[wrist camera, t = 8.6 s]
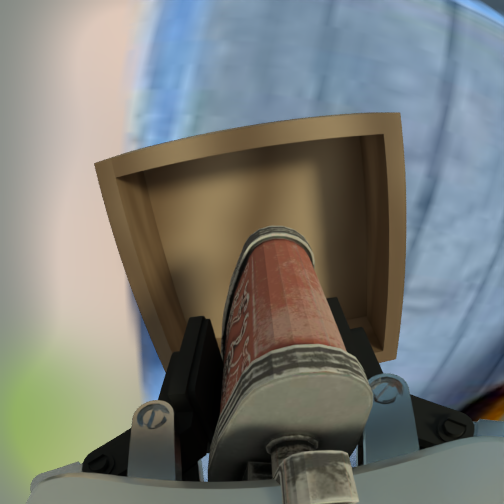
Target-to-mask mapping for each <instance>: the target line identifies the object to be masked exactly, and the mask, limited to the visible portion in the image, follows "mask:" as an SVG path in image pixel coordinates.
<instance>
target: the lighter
mask: <svg viewBox="0 0 504 504" xmlns="http://www.w3.org/2000/svg"><path fill="white" fill-rule="evenodd" d="M221 357H222V360H223V363H224V367H223V380H222V393H221V406H220V417H219V420H218V423H217V427H216V430H215V433H214V437H213V440H212V443H211V447H210V452H209V463H208V482H235V481H256V480H269V479H275V480H276V481H277V482H278V483H279V485H280V486H281V493H282V504H350V503H354V502H359V499H358V494H357V490H356V485H355V481H354V477H353V471H352V467H351V463H350V459H349V457H350V456H351V454H352V453H353V451H354V450H355V448H356V446H357V445H358V442H359V440H360V437H361V435H362V432H363V430H364V427H365V424H366V422H367V419H368V416H369V414H370V411H371V408H372V405H373V392H372V390H371V387H370V385H369V382H368V380H367V377H366V375H365V372H364V370H363V368H362V366H361V365H360V363H359V362H358V360H357V359H356V357H355V356H353V355H351V354H349V353H348V352H347V351H346V348H345V346H344V343H343V340H342V338H341V335H340V333H339V330H338V327H337V325H336V322H335V320H334V317H333V315H332V312H331V310H330V307H329V305H328V302H327V300H326V297H325V295H324V292H323V290H322V287H321V285H320V282H319V280H318V277H317V275H316V273H315V260H314V254H313V252H312V249H311V247H310V245H309V243H308V242H307V240H306V239H305V237H304V236H303V235H301V234H300V233H299V232H297V231H296V230H294V229H291V228H288V227H285V226H268V227H265V228H261V229H259V230H257V231H256V232H254V233H253V234H251V235H250V236H249V238H248V239H247V241H246V242H245V244H244V246H243V249H242V251H241V254H240V256H239V259H238V262H237V264H236V267H235V269H234V272H233V275H232V277H231V281H230V285H229V290H228V294H227V298H226V302H225V307H224V311H223V320H222V336H221Z"/></svg>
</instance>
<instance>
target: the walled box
mask: <svg viewBox="0 0 504 504" xmlns="http://www.w3.org/2000/svg"><path fill="white" fill-rule="evenodd" d="M94 165H95V169H96V173H97V177H98V181H99V185H100V189H101V193H102V197H103V200H104V204H105V207H106V211H107V215H108V218H109V222H110V225H111V228H112V232H113V235H114V238H115V241H116V245H117V248H118V251H119V254H120V257H121V260H122V263H123V266H124V269H125V272H126V275H127V277H128V280H129V283H130V286H131V289H132V291H133V294H134V297H135V300H136V302H137V305H138V307H139V310H140V313H141V315H142V318H143V320H144V323H145V325H146V328H147V330H148V333H149V335H150V338H151V340H152V342H153V345H154V347H155V349H156V352H157V354H158V356H159V359H160V361H161V363H162V365H163V368H164V370H165V372H166V371H167V368H168V365H169V361H170V358H171V355H172V353H173V352H176V351H180V347H181V344H182V340H183V337H184V333H185V330H186V327H187V323H188V320H189V318H190V317H196V316H205V318H206V319H210V320H211V323H212V326H213V330H214V333H215V337H216V340H217V343H218V347H219V350H220V353H221V336H222V320H223V311H224V307H225V302H226V298H227V294H228V290H229V285H230V281H231V277H232V275H233V272H234V269H235V267H236V264H237V262H238V259H239V256H240V254H241V251H242V249H243V246H244V244H245V242H246V241H247V239H248V238H249V236H250V235H251V234H253V233H254V232H256V231H257V230H259V229H261V228H265V227H268V226H285V227H288V228H291V229H294V230H296V231H297V232H299V233H300V234H301V235H303V236H304V237H305V239H306V240H307V242H308V243H309V245H310V247H311V249H312V252H313V254H314V260H315V273H316V275H317V277H318V280H319V282H320V285H321V287H322V290H323V292H324V295H325V297H326V298H332V297H337V298H338V301H339V303H340V306H341V308H342V310H343V313H344V315H345V318H346V320H347V323H348V325H349V328H350V329H353V328H358V327H363V329H364V331H365V333H366V335H367V337H368V340H369V342H370V344H371V346H372V349H373V351H374V353H375V355H376V358H377V360H378V362H379V363H381V362H385V361H390V360H394V359H396V355H397V348H398V341H399V333H400V324H401V315H402V304H403V292H404V278H405V258H406V181H405V162H404V147H403V136H402V125H401V116H400V113H354V114H340V115H328V116H318V117H308V118H300V119H291V120H284V121H276V122H269V123H262V124H256V125H250V126H244V127H238V128H232V129H227V130H221V131H216V132H211V133H206V134H201V135H196V136H191V137H187V138H182V139H178V140H174V141H169V142H165V143H161V144H157V145H153V146H149V147H145V148H141V149H138V150H134V151H130V152H127V153H124V154H121V155H118V156H115V157H112V158H109V159H106V160H103V161H100V162H97V163H94Z"/></svg>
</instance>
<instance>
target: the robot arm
mask: <svg viewBox="0 0 504 504" xmlns="http://www.w3.org/2000/svg"><path fill="white" fill-rule="evenodd" d="M326 300H327V302H328V305H329V307H330V310H331V312H332V315H333V317H334V320H335V322H336V325H337V327H338V330H339V333H340V335H341V338H342V340H343V343H344V346H345V348H346V351H347V352H348V353H349V354H351V355H353V356H355V357H356V359H357V360H358V362H359V363H360V365H361V366H362V368H363V370H364V372H365V375H366V377H367V380H368V382H369V385H370V387H371V390H372V392H373V405H372V408H371V411H370V414H369V416H368V419H367V422H366V424H365V427H364V430H363V432H362V435H361V437H360V440H359V442H358V445H357V446H356V467H353V468H352V471H353V477H354V481H355V485H356V490H357V494H358V499H359V502H354V503H350V504H504V421H503V422H502V421H493V420H483V419H479V421H478V422H473V421H472V420H471V418H470V417H468V416H467V415H466V414H464V413H462V412H459V411H456V410H453V409H450V408H447V407H444V406H441V405H438V404H436V403H433V402H430V401H427V400H424V399H421V398H419V397H416V396H413V395H410V392H409V387H408V385H407V383H406V382H405V380H404V379H403V378H401V377H399V376H397V375H394V374H385V373H383V372H382V369H381V367H380V365H379V362H378V360H377V358H376V355H375V353H374V351H373V349H372V346H371V344H370V342H369V340H368V337H367V335H366V333H365V331H364V329H363V327H358V328H353V329H350V328H349V325H348V323H347V320H346V318H345V315H344V313H343V310H342V308H341V306H340V303H339V301H338V298H337V297H332V298H326ZM223 367H224V363H223V360H222V357H221V353H220V350H219V347H218V343H217V340H216V337H215V333H214V330H213V326H212V323H211V320H210V319H206V318H205V316H196V317H190V318H189V320H188V323H187V327H186V330H185V333H184V337H183V340H182V344H181V347H180V351H176V352H173V353H172V355H171V358H170V361H169V365H168V368H167V371H166V375H165V378H164V381H163V385H162V388H161V391H160V395H159V398H158V400H153V401H149V402H146V403H144V404H142V405H141V406H140V407H139V408H138V409H137V410H136V411H135V413H134V415H133V418H132V427H131V428H130V429H129V430H127V431H125V432H124V433H122V434H121V435H119V436H117V437H116V438H114V439H113V440H111V441H109V442H107V443H106V444H105V445H102V446H101V447H99V448H97V449H96V450H94V451H92V452H91V453H90V454H88V455H87V457H86V458H85V459H84V462H83V463H82V464H80V463H79V462H76V463H72V464H70V465H67V466H64V467H60V468H57V469H54V470H51V471H48V472H45V473H41V474H39V475H37V476H36V477H35V478H34V479H33V480H32V483H31V488H30V490H31V495H30V496H29V499H28V500H27V502H26V504H282V493H281V486H280V485H279V483H278V482H277V481H276V480H275V479H269V480H256V481H235V482H204V477H203V468H202V461H201V458H203V457H204V456H205V455H206V453H209V452H210V447H211V443H212V440H213V437H214V433H215V430H216V427H217V423H218V420H219V417H220V406H221V393H222V380H223Z"/></svg>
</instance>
